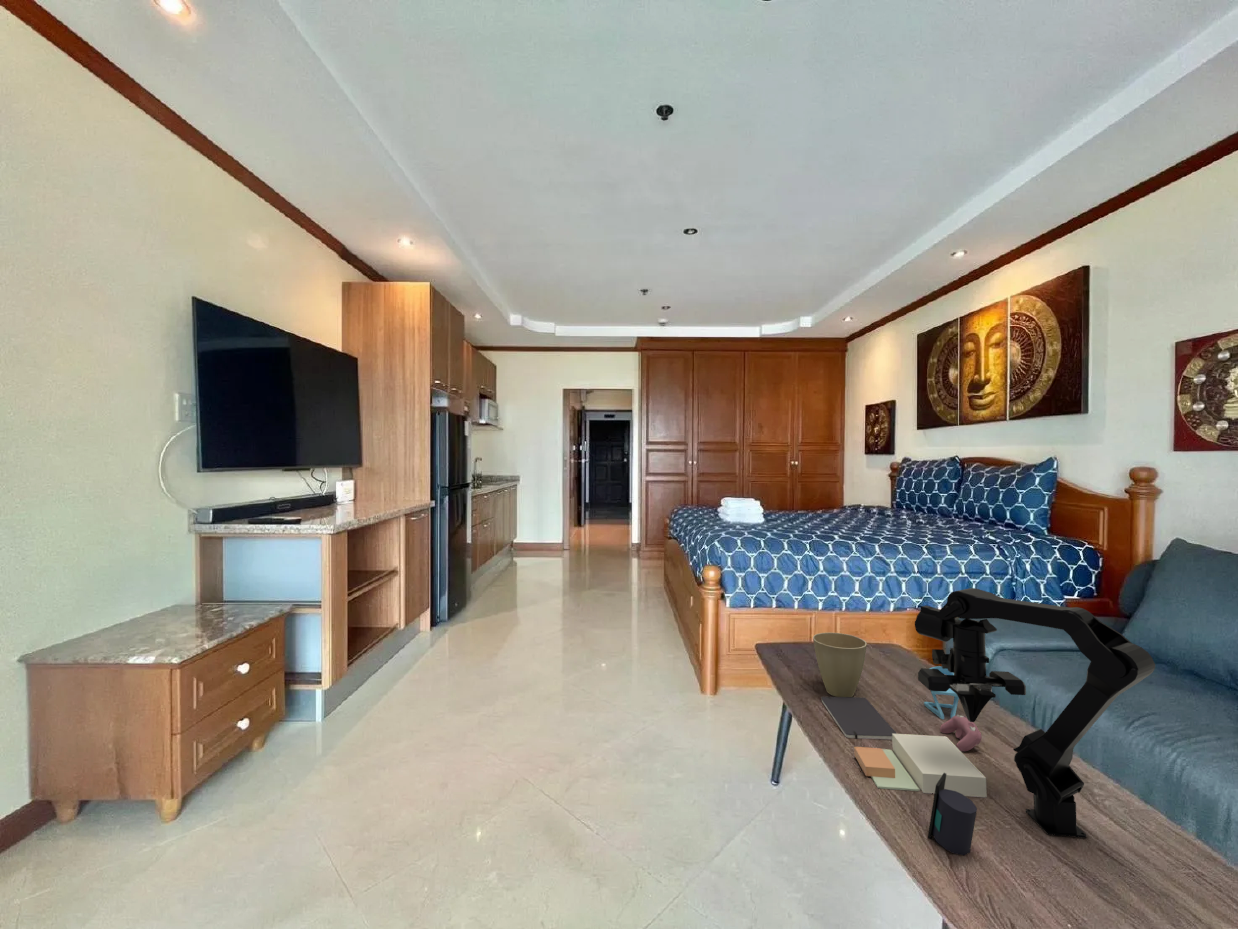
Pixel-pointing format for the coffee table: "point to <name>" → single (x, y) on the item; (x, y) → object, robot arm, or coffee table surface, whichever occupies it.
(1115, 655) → the robot arm
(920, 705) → the coffee table surface
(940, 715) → the chair
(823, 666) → the plant pot
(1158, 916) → the coffee table surface
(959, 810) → the speaker
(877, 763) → the tile
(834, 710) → the notebook
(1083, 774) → the coffee table surface
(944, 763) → the cream flat block
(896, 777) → the mat
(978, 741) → the video game controller
